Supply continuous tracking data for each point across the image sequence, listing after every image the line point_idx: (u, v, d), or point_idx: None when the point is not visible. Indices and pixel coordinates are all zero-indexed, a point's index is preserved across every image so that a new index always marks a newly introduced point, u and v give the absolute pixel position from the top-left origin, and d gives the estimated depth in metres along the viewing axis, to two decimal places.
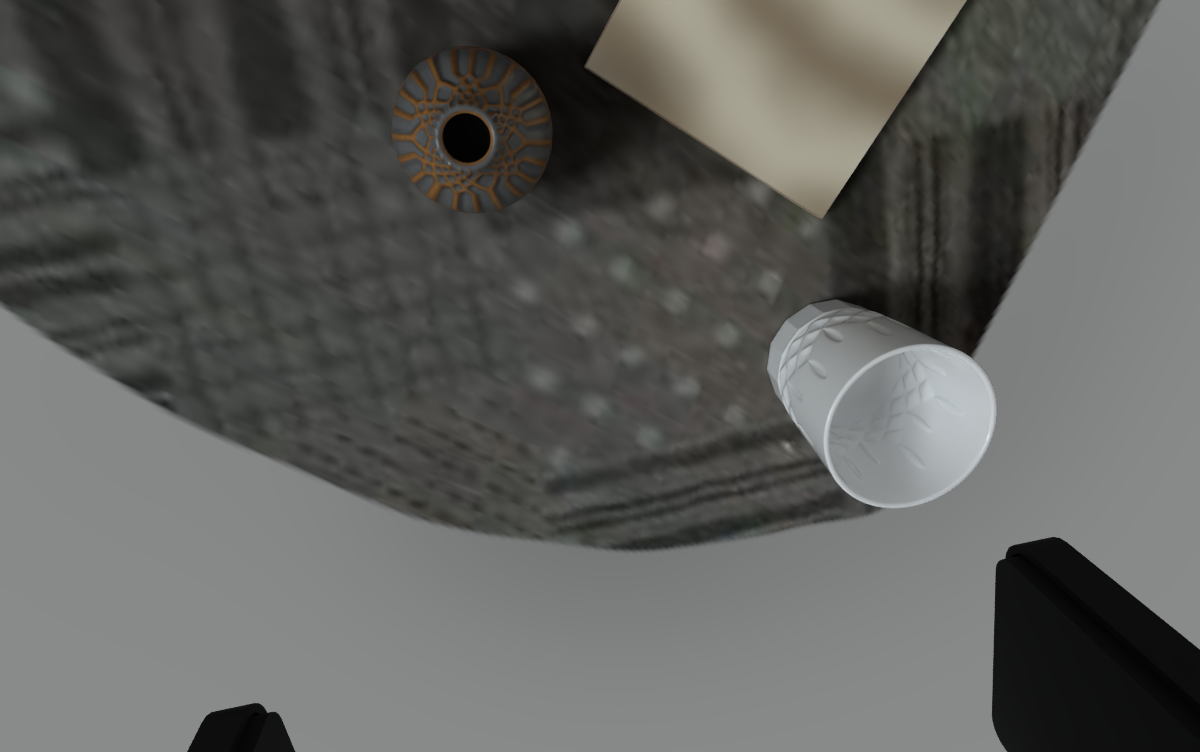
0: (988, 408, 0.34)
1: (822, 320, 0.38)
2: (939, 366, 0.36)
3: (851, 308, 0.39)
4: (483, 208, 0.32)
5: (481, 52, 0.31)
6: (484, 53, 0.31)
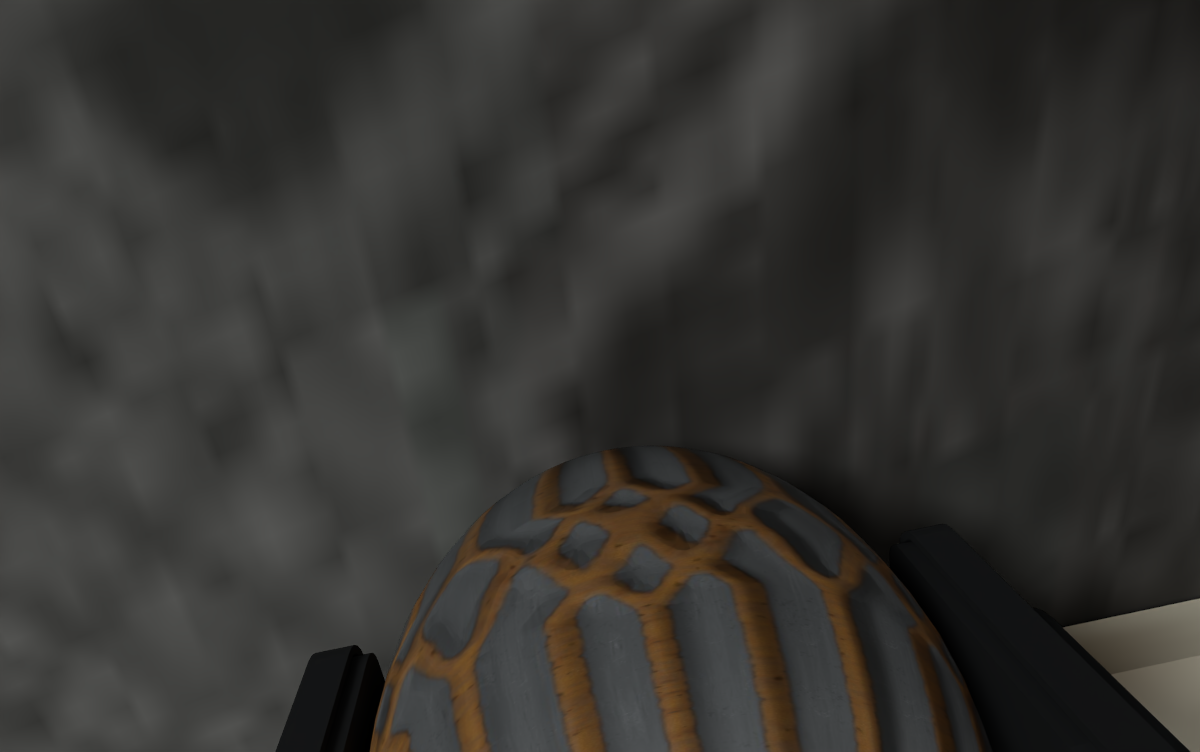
0: None
1: None
2: None
3: None
4: None
5: (987, 740, 0.07)
6: None
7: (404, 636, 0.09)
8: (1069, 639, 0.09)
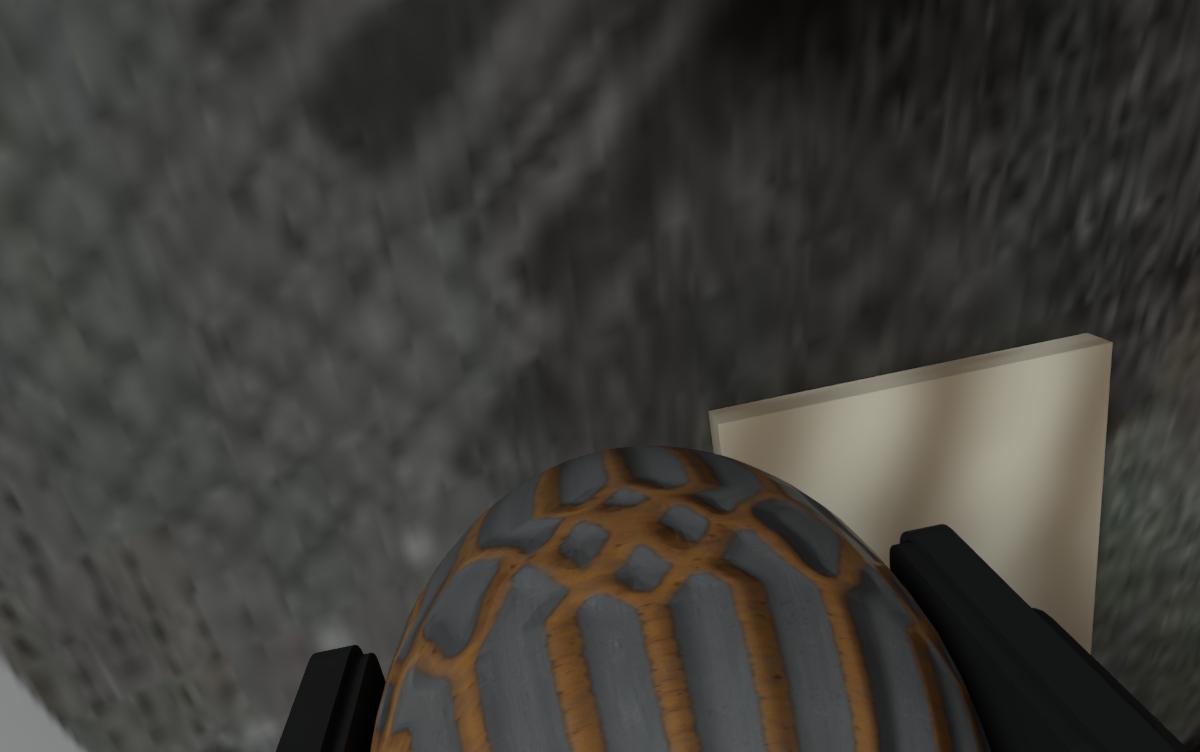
0: None
1: None
2: None
3: None
4: None
5: (985, 739, 0.07)
6: (989, 751, 0.07)
7: (405, 635, 0.09)
8: (1068, 639, 0.09)
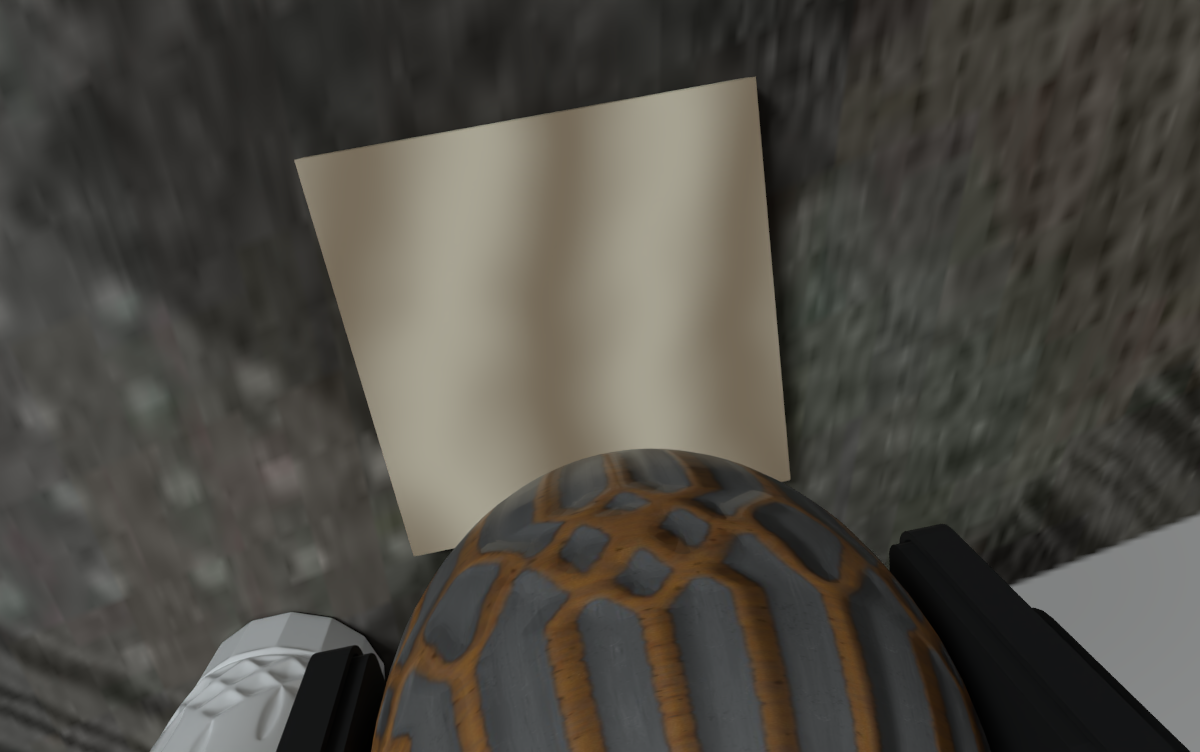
0: None
1: (300, 668, 0.26)
2: None
3: None
4: None
5: (986, 743, 0.07)
6: None
7: (405, 639, 0.09)
8: (1069, 639, 0.09)
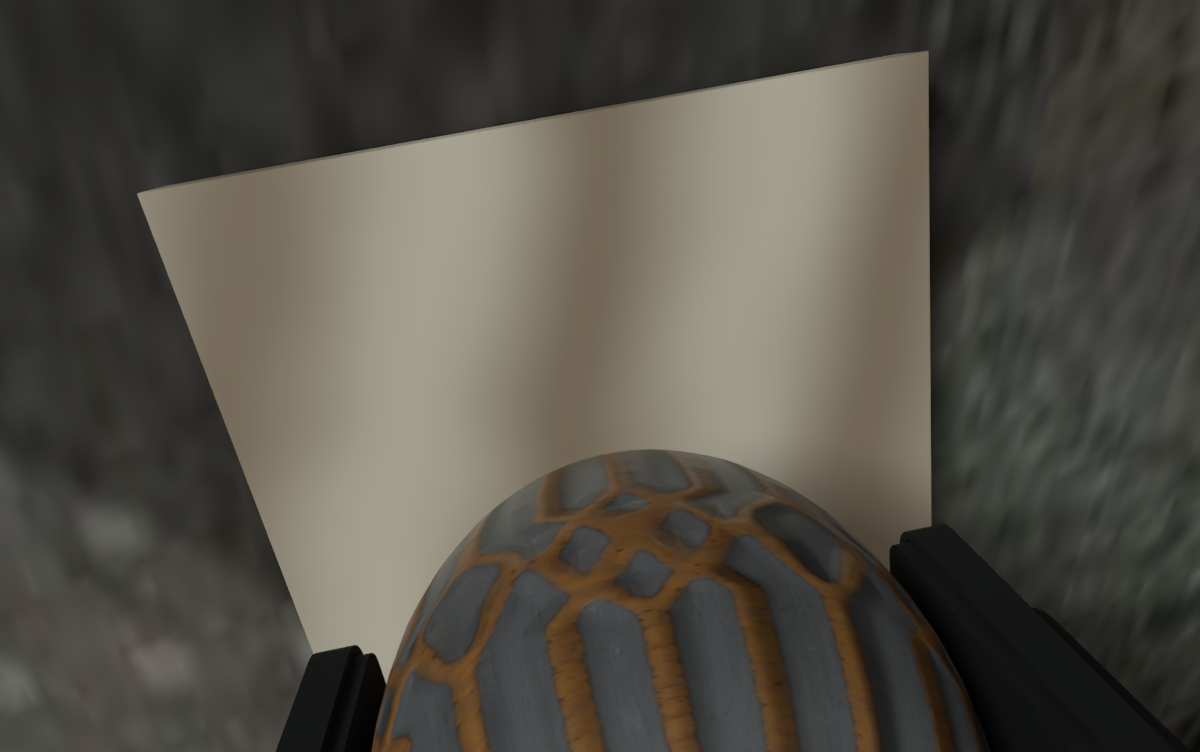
0: None
1: None
2: None
3: None
4: None
5: (986, 744, 0.07)
6: None
7: (405, 640, 0.09)
8: (1068, 639, 0.09)
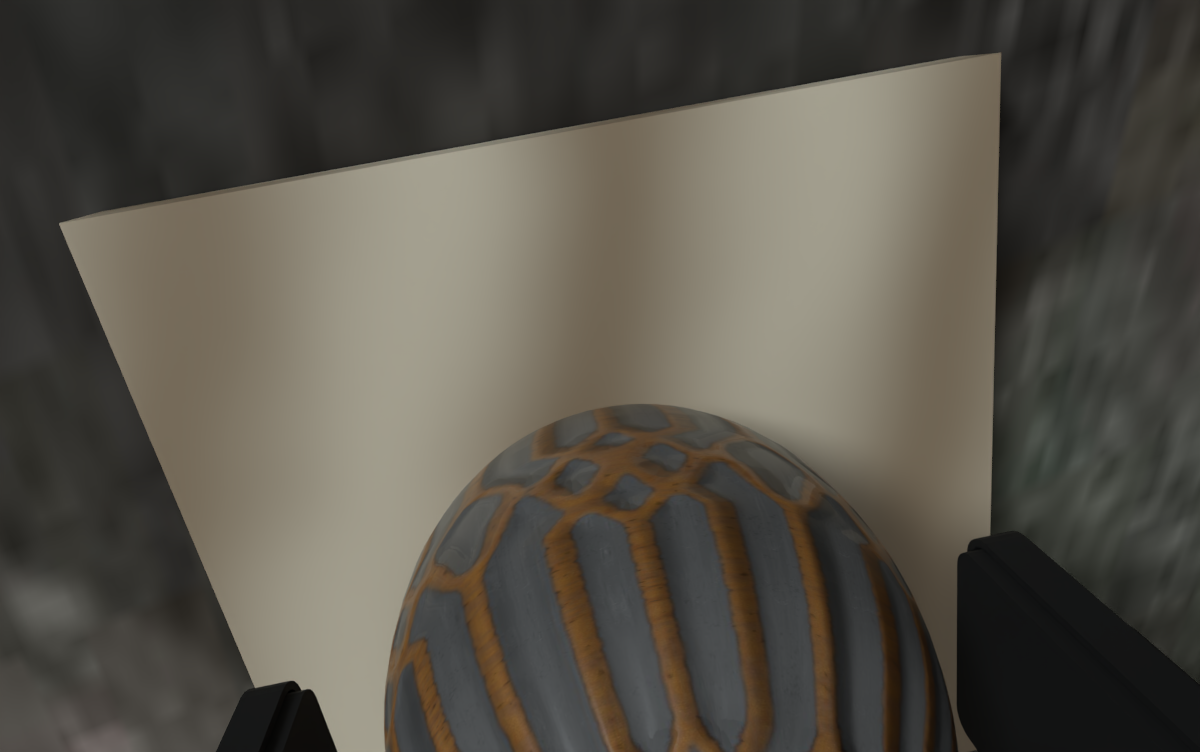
0: None
1: None
2: None
3: None
4: None
5: (930, 641, 0.08)
6: (934, 652, 0.08)
7: (417, 568, 0.10)
8: None
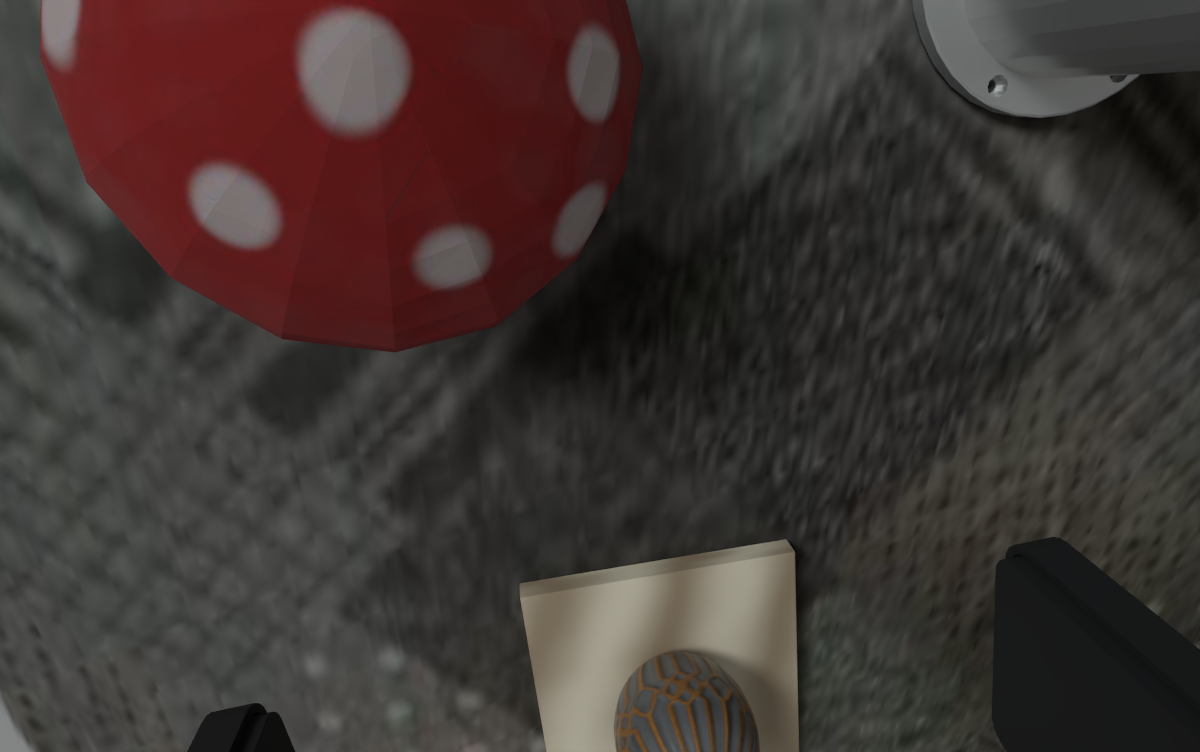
0: None
1: None
2: None
3: None
4: None
5: (754, 732, 0.35)
6: (755, 735, 0.35)
7: (626, 706, 0.36)
8: None
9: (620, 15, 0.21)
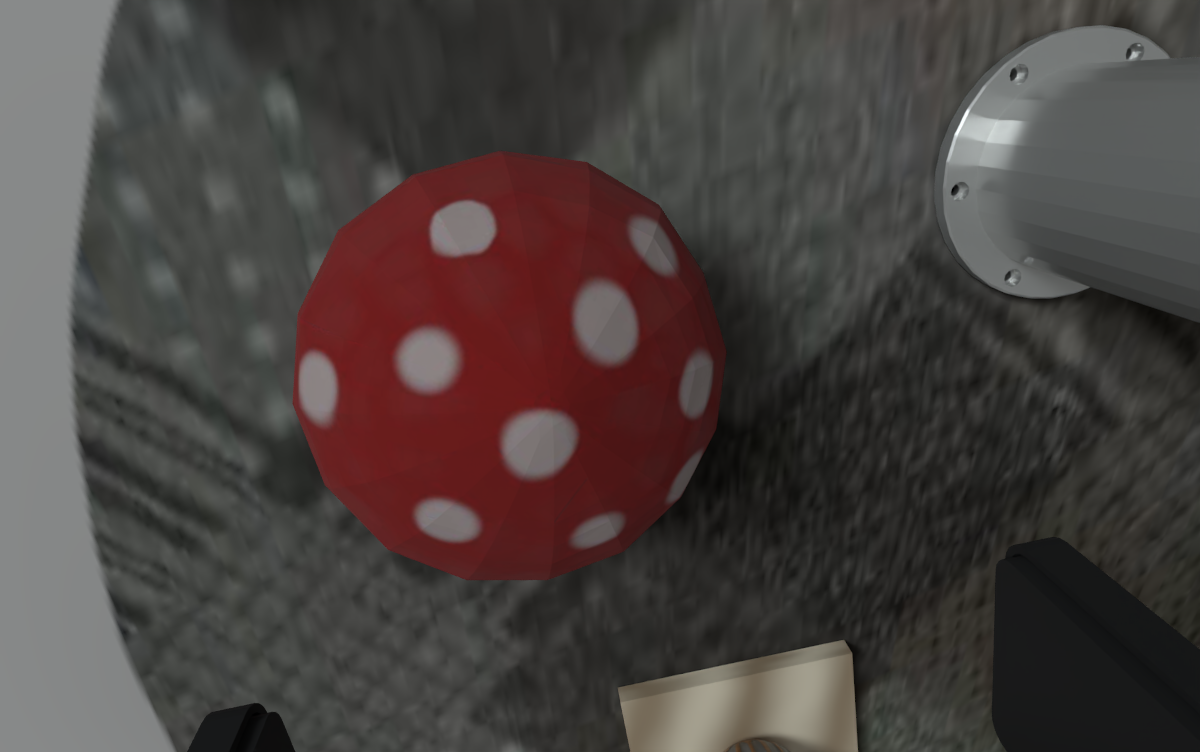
0: None
1: None
2: None
3: None
4: None
5: None
6: None
7: None
8: None
9: (711, 326, 0.28)
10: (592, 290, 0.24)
